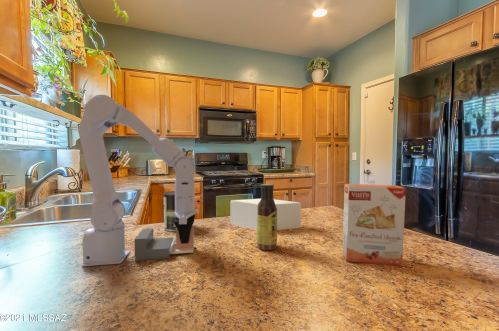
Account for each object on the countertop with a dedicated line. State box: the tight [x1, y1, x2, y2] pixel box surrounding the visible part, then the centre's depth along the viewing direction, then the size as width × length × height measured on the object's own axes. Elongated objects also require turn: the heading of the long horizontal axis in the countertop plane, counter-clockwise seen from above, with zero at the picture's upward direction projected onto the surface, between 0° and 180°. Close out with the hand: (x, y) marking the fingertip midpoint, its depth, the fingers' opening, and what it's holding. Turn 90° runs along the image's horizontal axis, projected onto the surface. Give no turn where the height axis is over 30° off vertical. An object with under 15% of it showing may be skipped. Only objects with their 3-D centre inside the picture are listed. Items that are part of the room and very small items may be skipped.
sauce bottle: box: [256, 183, 278, 251], centre depth 73 cm, size 6×6×20 cm
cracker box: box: [342, 183, 407, 267], centre depth 64 cm, size 14×6×21 cm, turn 79°
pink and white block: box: [170, 225, 195, 255], centre depth 69 cm, size 16×6×7 cm, turn 101°
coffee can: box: [162, 190, 177, 233], centre depth 93 cm, size 10×10×14 cm
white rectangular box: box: [229, 198, 302, 231], centre depth 96 cm, size 14×29×10 cm, turn 81°
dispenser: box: [133, 227, 176, 262], centre depth 69 cm, size 10×9×6 cm
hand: (185, 241), depth 70 cm, fingers closed on pink and white block, 2 cm apart
